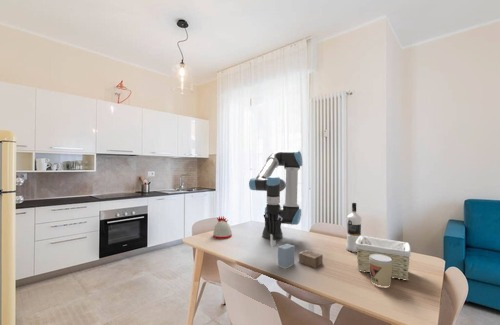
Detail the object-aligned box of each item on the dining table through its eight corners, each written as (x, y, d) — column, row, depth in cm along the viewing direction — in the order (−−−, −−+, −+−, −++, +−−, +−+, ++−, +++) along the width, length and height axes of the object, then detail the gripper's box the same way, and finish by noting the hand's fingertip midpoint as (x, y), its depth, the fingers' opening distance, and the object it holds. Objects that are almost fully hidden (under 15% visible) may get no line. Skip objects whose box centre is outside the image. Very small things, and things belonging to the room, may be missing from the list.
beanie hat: (216, 233, 186) (216, 213, 186) (233, 233, 184) (233, 214, 184) (210, 238, 172) (211, 217, 172) (229, 239, 170) (229, 218, 171)
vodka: (365, 251, 148) (365, 203, 148) (353, 253, 145) (353, 204, 145) (354, 247, 157) (354, 201, 157) (342, 248, 153) (343, 202, 154)
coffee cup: (364, 279, 113) (365, 253, 113) (383, 278, 113) (383, 253, 113) (377, 289, 103) (377, 261, 103) (397, 288, 104) (397, 261, 104)
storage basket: (354, 271, 121) (354, 242, 121) (359, 260, 135) (359, 234, 135) (411, 284, 108) (411, 251, 108) (409, 271, 122) (410, 242, 122)
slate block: (287, 261, 133) (287, 243, 133) (294, 264, 129) (294, 245, 129) (277, 265, 127) (278, 246, 127) (285, 268, 124) (285, 249, 124)
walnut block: (306, 249, 137) (322, 254, 130) (306, 258, 137) (322, 263, 130) (298, 253, 132) (314, 258, 125) (298, 262, 132) (314, 268, 125)
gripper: (260, 203, 137) (259, 244, 137) (277, 206, 128) (277, 250, 128) (268, 201, 142) (268, 241, 142) (286, 204, 133) (286, 246, 133)
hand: (272, 245), depth 135 cm, fingers closed
